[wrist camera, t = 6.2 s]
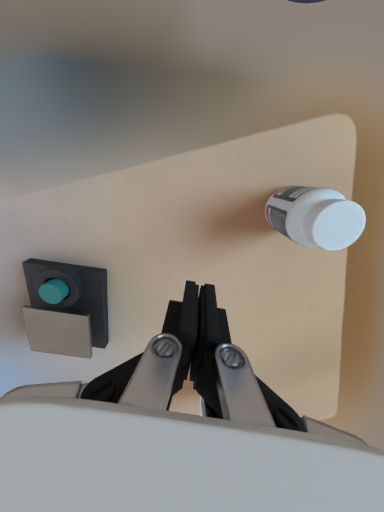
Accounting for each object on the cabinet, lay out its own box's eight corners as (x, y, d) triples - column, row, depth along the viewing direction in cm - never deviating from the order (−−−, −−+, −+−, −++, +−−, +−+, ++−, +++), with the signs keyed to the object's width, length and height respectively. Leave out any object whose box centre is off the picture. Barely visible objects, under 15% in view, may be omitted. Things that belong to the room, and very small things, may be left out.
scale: (29, 255, 28) (10, 263, 25) (106, 266, 28) (96, 276, 25) (44, 333, 33) (30, 347, 30) (108, 342, 33) (100, 357, 30)
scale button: (45, 276, 26) (36, 282, 24) (68, 280, 26) (60, 286, 24) (48, 295, 27) (40, 302, 26) (70, 298, 27) (63, 305, 26)
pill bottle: (294, 235, 25) (348, 267, 16) (256, 222, 25) (289, 248, 16) (317, 193, 23) (392, 203, 14) (276, 179, 23) (326, 179, 14)
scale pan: (24, 304, 27) (21, 307, 26) (89, 313, 27) (87, 316, 26) (34, 347, 30) (31, 350, 29) (92, 355, 30) (90, 358, 29)
